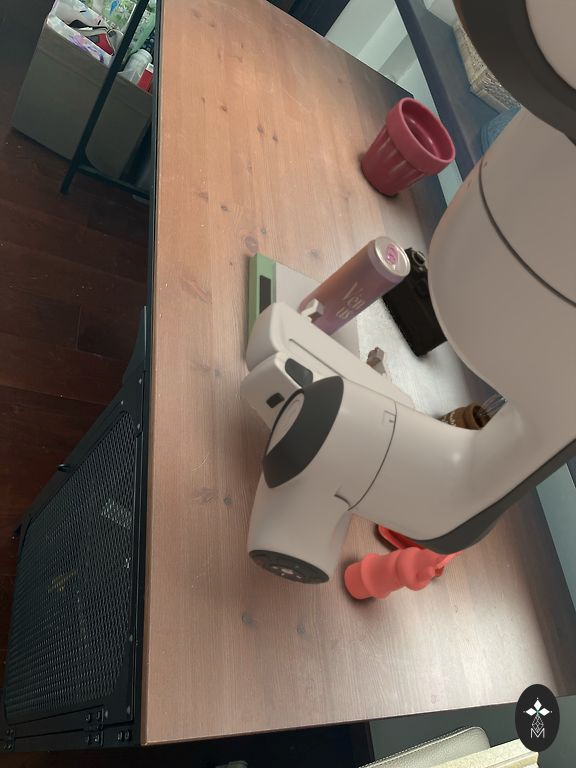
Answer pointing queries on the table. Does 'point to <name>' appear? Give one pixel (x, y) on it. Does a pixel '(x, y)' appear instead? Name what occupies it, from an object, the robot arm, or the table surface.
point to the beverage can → (359, 283)
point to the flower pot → (407, 148)
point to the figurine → (393, 572)
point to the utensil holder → (469, 416)
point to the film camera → (415, 307)
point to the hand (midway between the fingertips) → (347, 329)
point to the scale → (288, 295)
